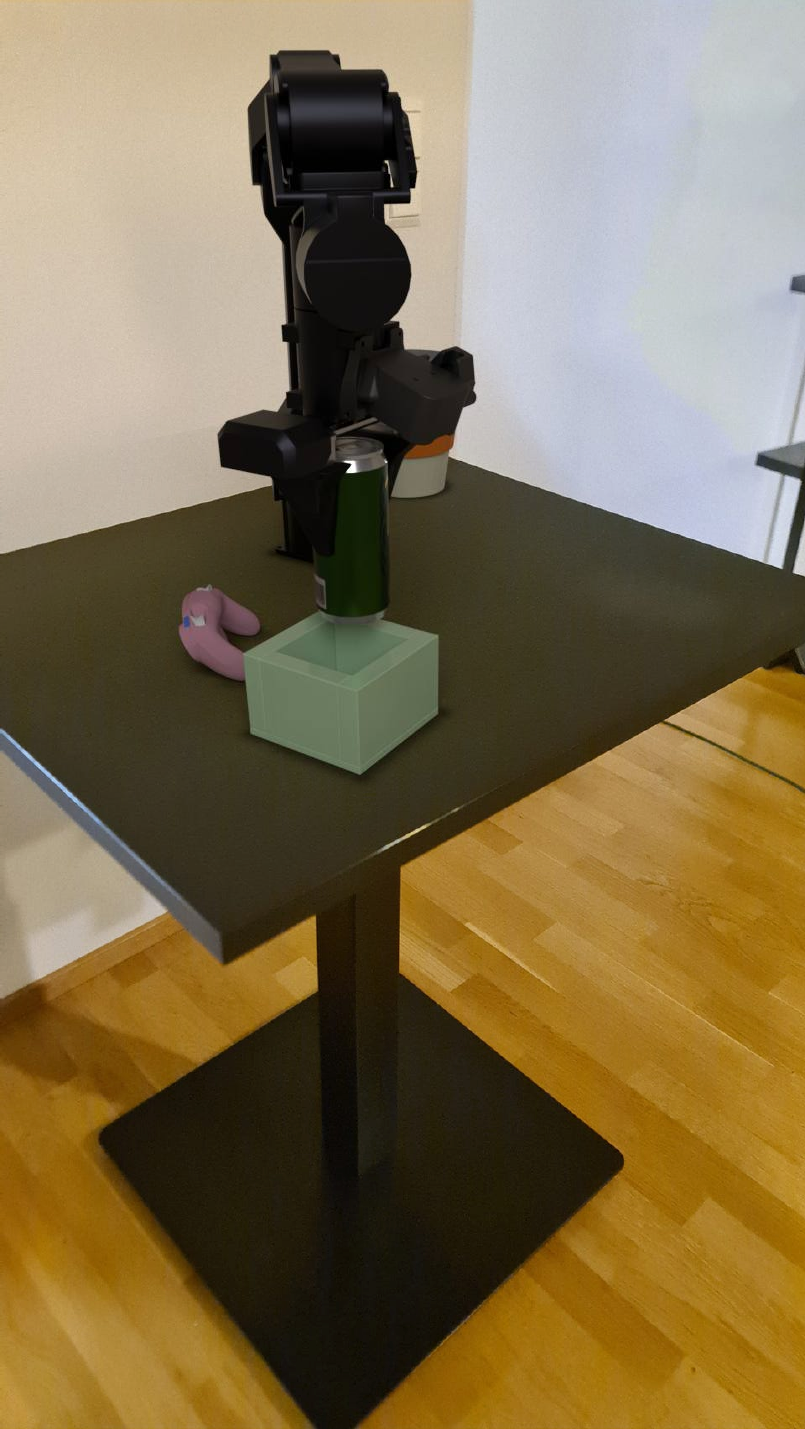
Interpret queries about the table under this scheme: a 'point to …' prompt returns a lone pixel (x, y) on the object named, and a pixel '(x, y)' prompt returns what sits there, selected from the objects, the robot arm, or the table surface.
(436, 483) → the reusable coffee cup
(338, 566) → the beer can
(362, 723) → the holder
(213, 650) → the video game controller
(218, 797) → the table surface
